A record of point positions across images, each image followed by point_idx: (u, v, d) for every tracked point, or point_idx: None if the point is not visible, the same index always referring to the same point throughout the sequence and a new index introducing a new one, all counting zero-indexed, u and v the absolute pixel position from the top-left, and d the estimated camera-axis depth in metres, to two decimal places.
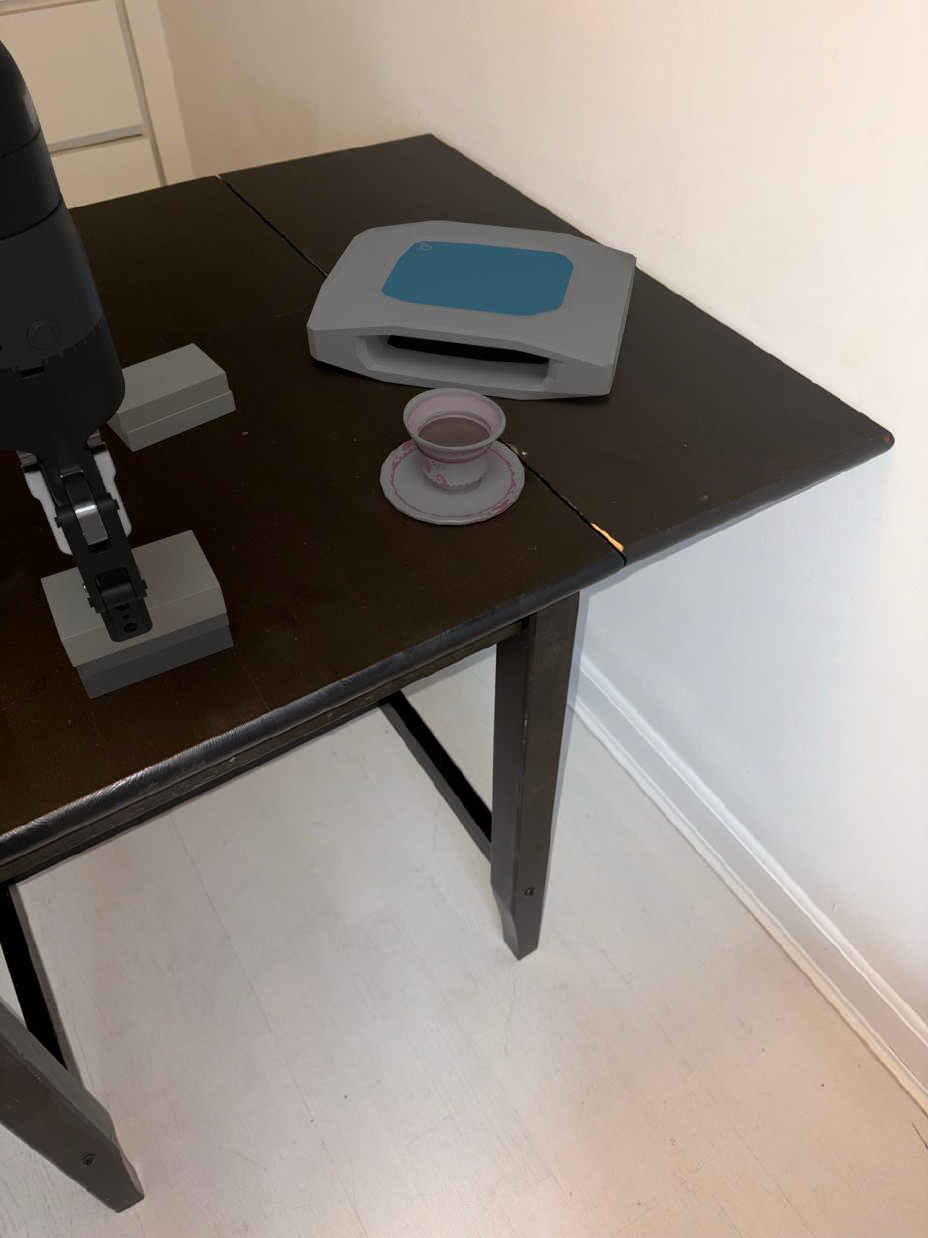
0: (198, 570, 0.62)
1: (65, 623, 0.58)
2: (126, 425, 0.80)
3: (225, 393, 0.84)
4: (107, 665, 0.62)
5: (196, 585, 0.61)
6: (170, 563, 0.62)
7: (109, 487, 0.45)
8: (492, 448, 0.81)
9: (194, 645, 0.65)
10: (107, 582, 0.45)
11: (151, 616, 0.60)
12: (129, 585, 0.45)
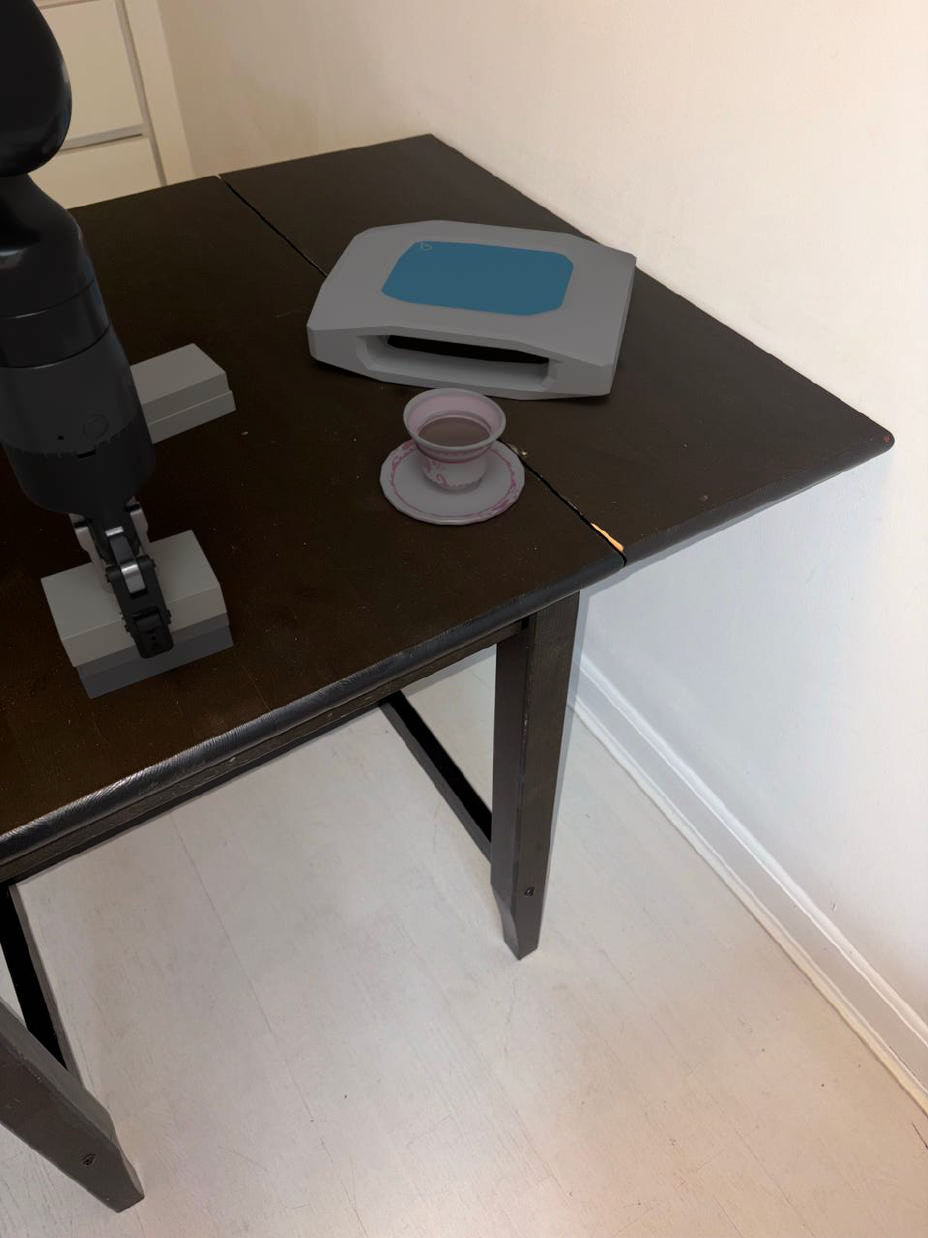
0: (198, 570, 0.62)
1: (65, 623, 0.58)
2: None
3: (225, 393, 0.84)
4: (107, 665, 0.62)
5: (196, 585, 0.61)
6: (170, 563, 0.62)
7: (142, 540, 0.56)
8: (492, 448, 0.81)
9: (194, 645, 0.65)
10: (139, 612, 0.56)
11: None
12: (158, 616, 0.56)
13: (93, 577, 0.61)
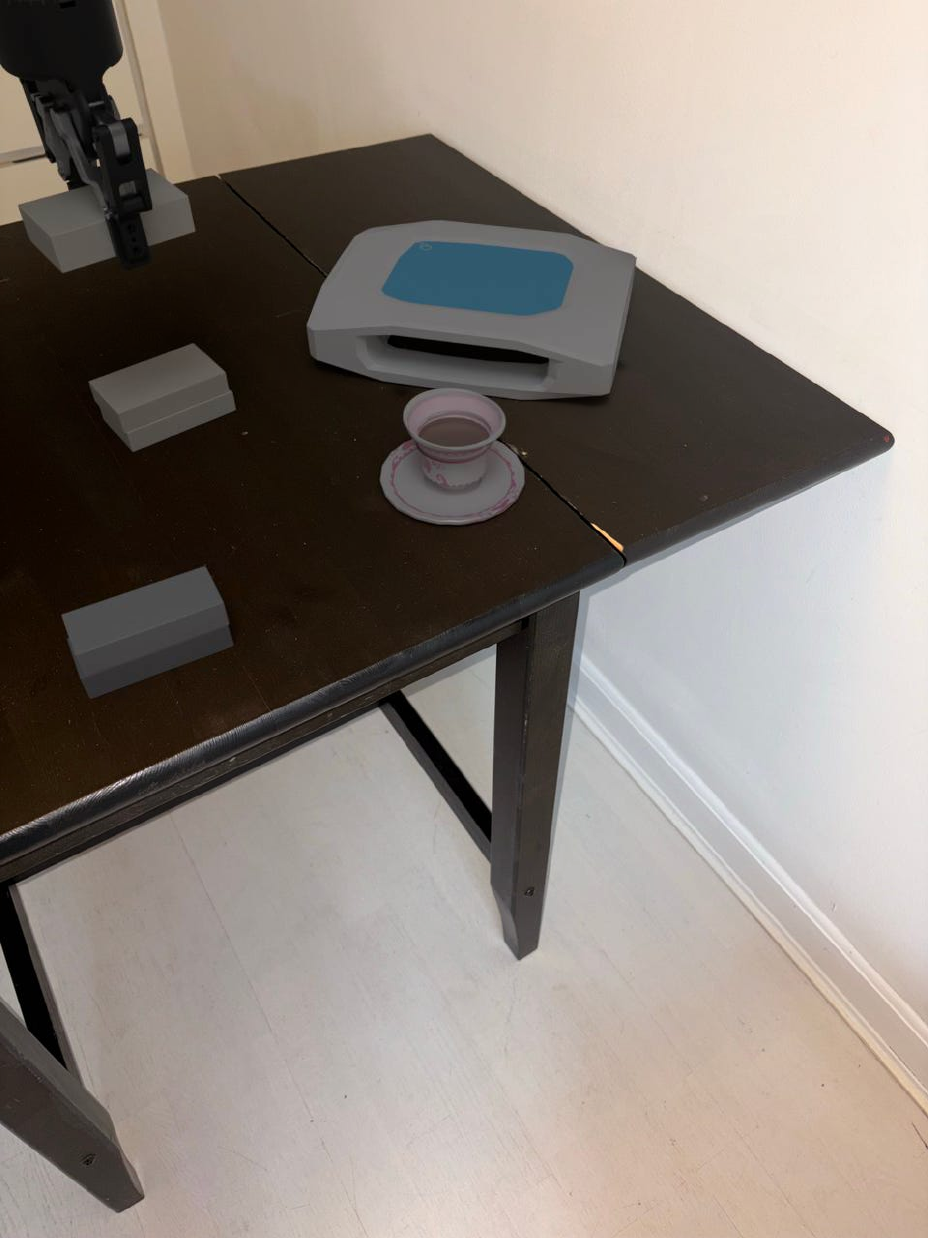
0: (165, 189, 0.67)
1: (50, 226, 0.64)
2: (126, 425, 0.80)
3: (225, 393, 0.84)
4: (107, 665, 0.62)
5: (166, 197, 0.67)
6: None
7: None
8: (492, 448, 0.81)
9: (194, 645, 0.65)
10: (122, 196, 0.62)
11: None
12: (140, 198, 0.62)
13: (68, 200, 0.66)
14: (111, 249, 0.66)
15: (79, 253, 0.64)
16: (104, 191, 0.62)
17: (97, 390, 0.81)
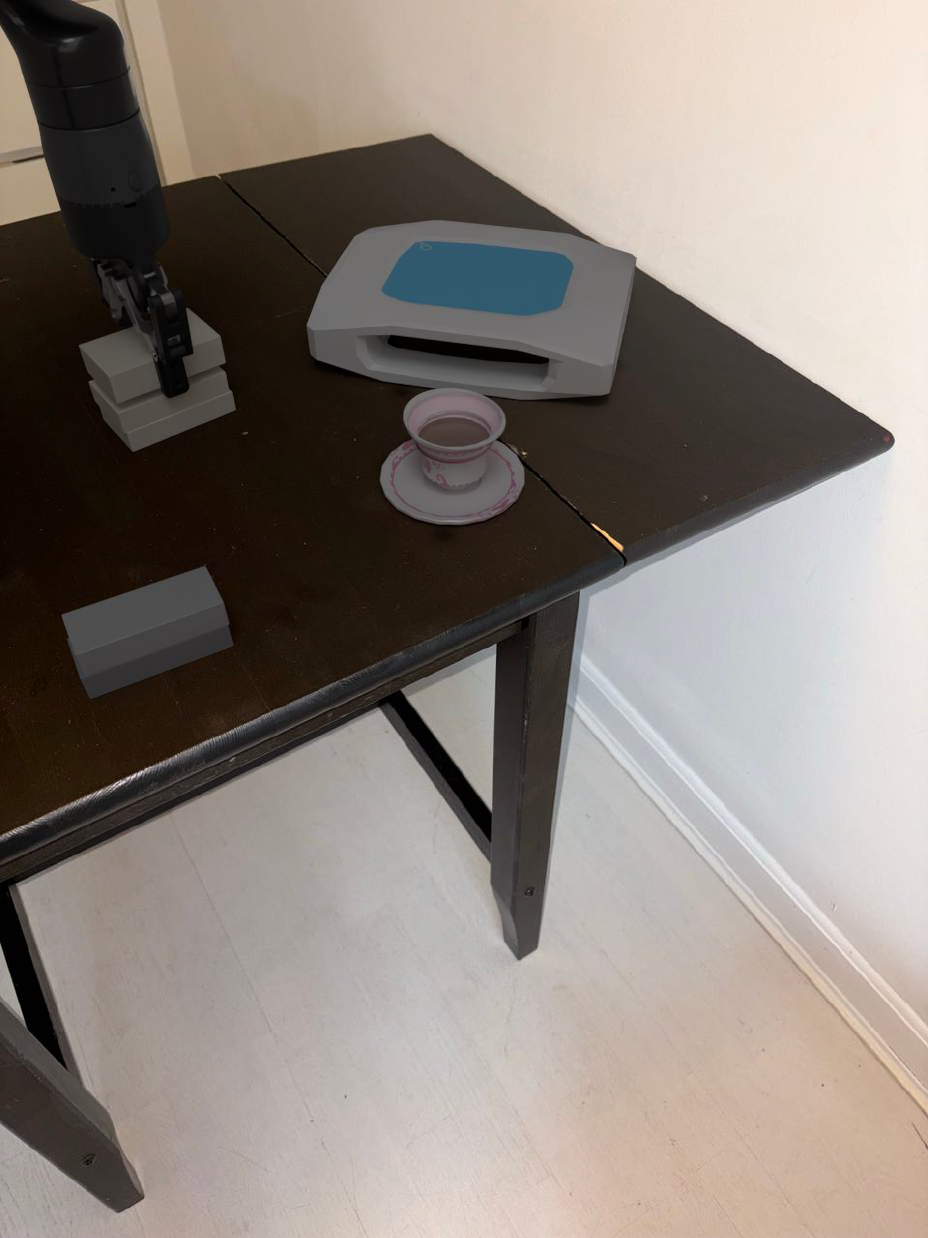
0: (201, 329, 0.81)
1: (108, 367, 0.77)
2: (126, 425, 0.80)
3: (225, 393, 0.84)
4: (107, 665, 0.62)
5: (202, 337, 0.80)
6: None
7: None
8: (492, 448, 0.81)
9: (194, 645, 0.65)
10: (169, 345, 0.75)
11: None
12: (184, 346, 0.75)
13: (120, 340, 0.80)
14: (157, 382, 0.79)
15: (131, 387, 0.78)
16: (154, 340, 0.75)
17: (97, 390, 0.81)
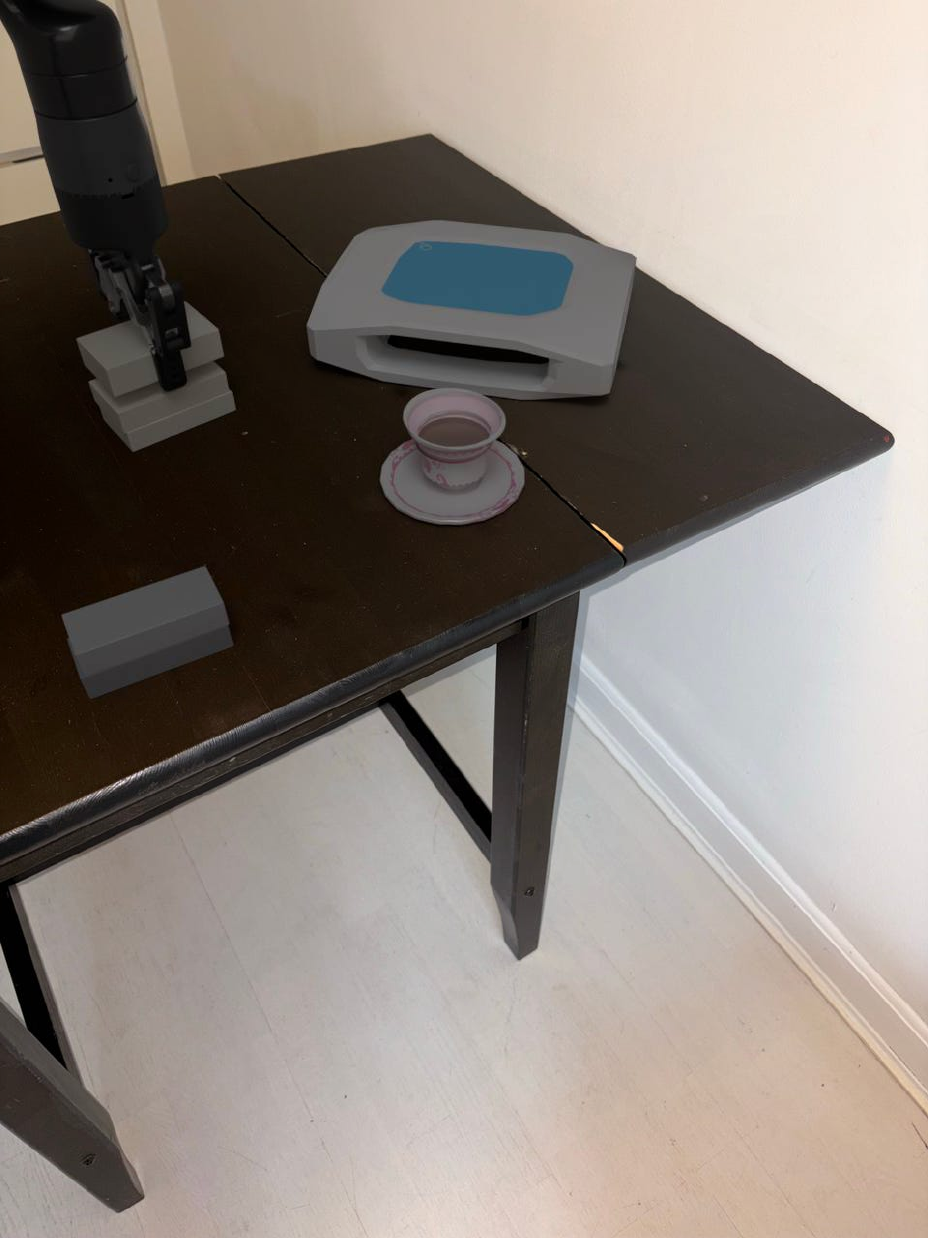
0: (199, 323, 0.80)
1: (105, 360, 0.76)
2: (126, 425, 0.80)
3: (225, 393, 0.84)
4: (107, 665, 0.62)
5: (200, 331, 0.79)
6: None
7: None
8: (492, 448, 0.81)
9: (194, 645, 0.65)
10: (166, 337, 0.75)
11: None
12: (181, 339, 0.75)
13: (118, 333, 0.79)
14: (155, 375, 0.78)
15: (129, 381, 0.77)
16: (151, 333, 0.75)
17: (97, 390, 0.81)
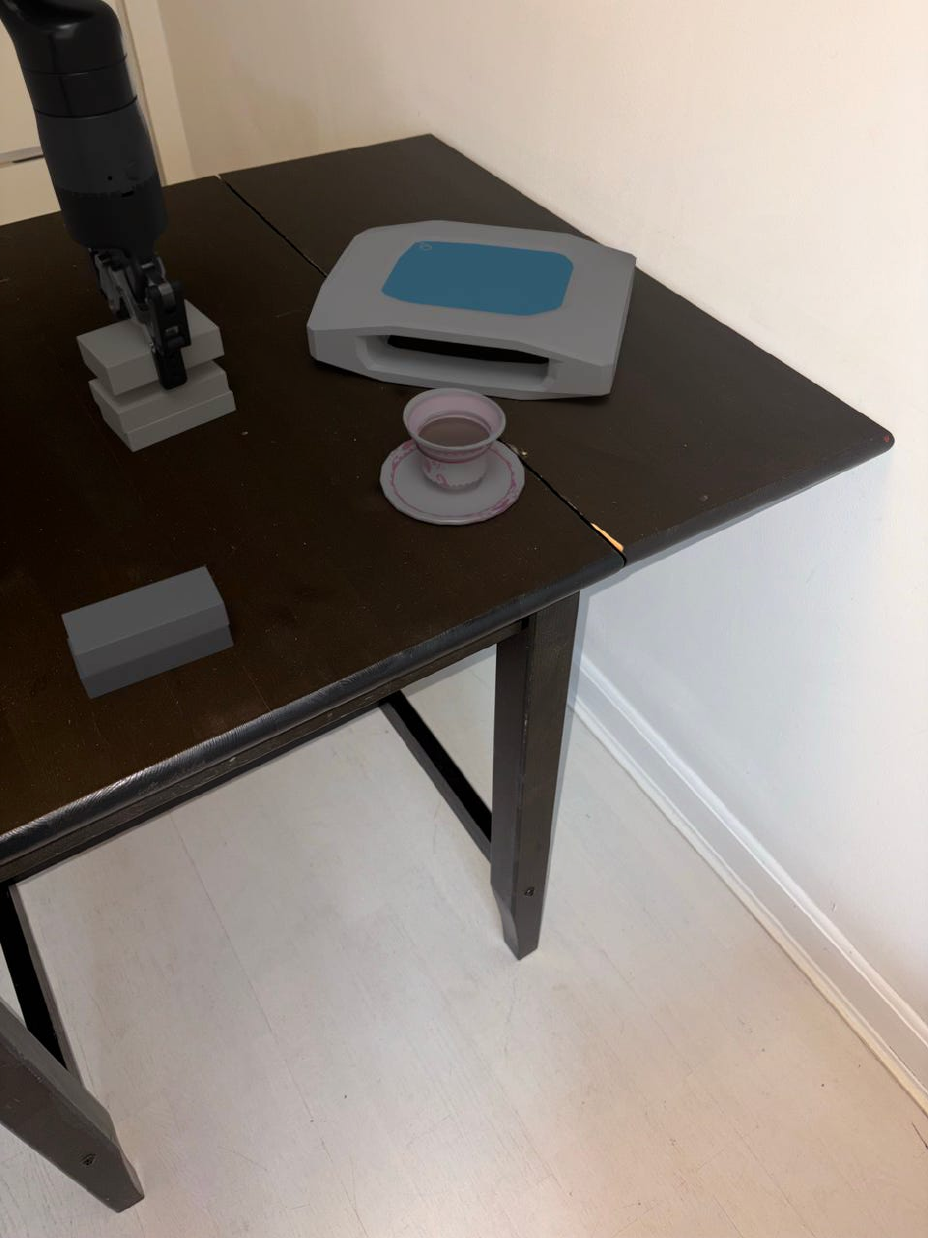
0: (199, 321, 0.80)
1: (105, 358, 0.76)
2: (126, 425, 0.80)
3: (225, 393, 0.84)
4: (107, 665, 0.62)
5: (200, 329, 0.79)
6: None
7: None
8: (492, 448, 0.81)
9: (194, 645, 0.65)
10: (167, 336, 0.75)
11: None
12: (181, 337, 0.75)
13: (118, 332, 0.79)
14: (155, 374, 0.78)
15: (129, 379, 0.77)
16: (151, 331, 0.75)
17: (97, 390, 0.81)
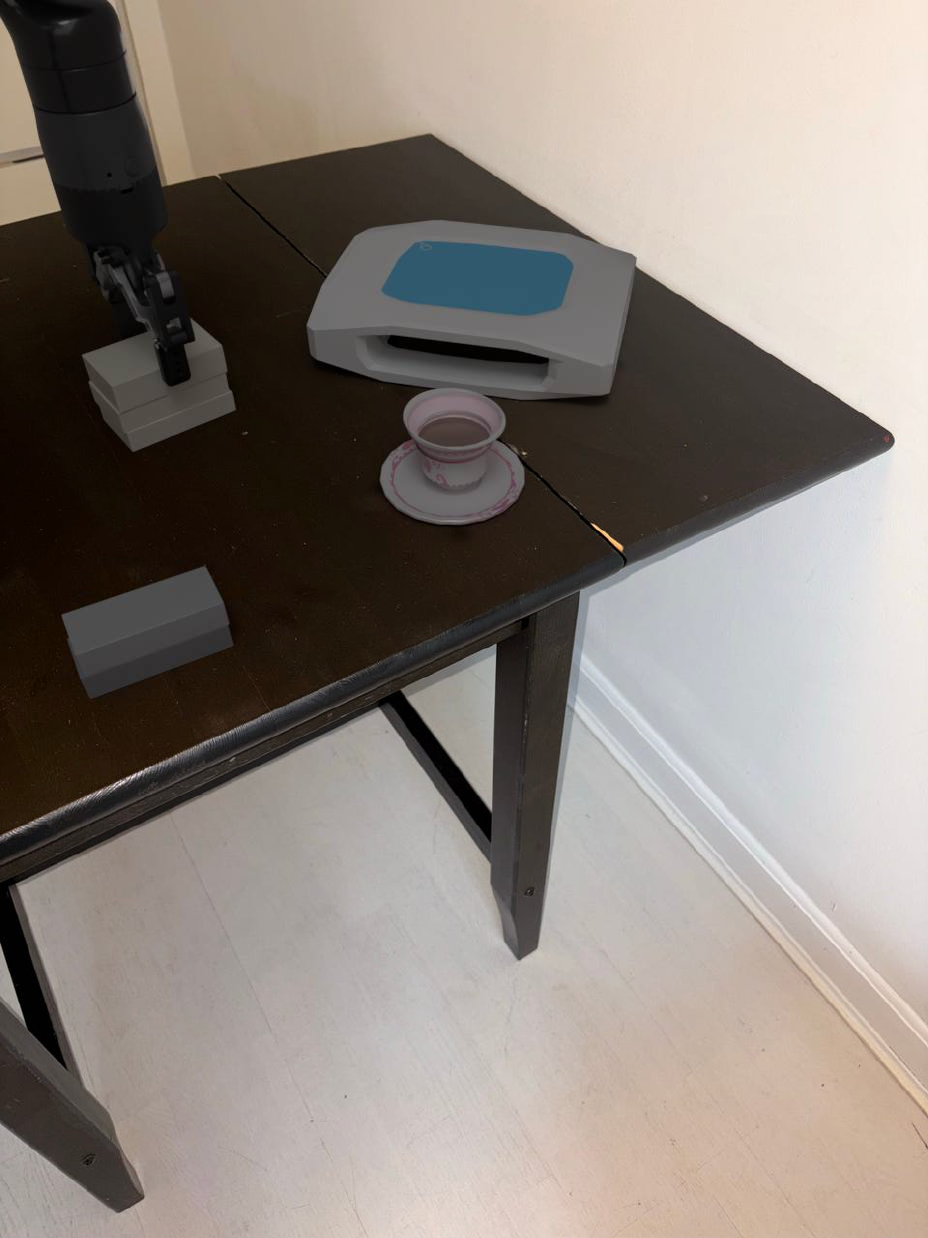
0: (203, 339, 0.81)
1: (111, 377, 0.77)
2: (126, 425, 0.80)
3: (225, 393, 0.84)
4: (107, 665, 0.62)
5: (204, 347, 0.80)
6: None
7: None
8: (492, 448, 0.81)
9: (194, 645, 0.65)
10: (170, 331, 0.74)
11: None
12: (184, 332, 0.74)
13: (123, 350, 0.80)
14: (159, 391, 0.80)
15: (134, 397, 0.78)
16: (153, 325, 0.74)
17: (97, 390, 0.81)
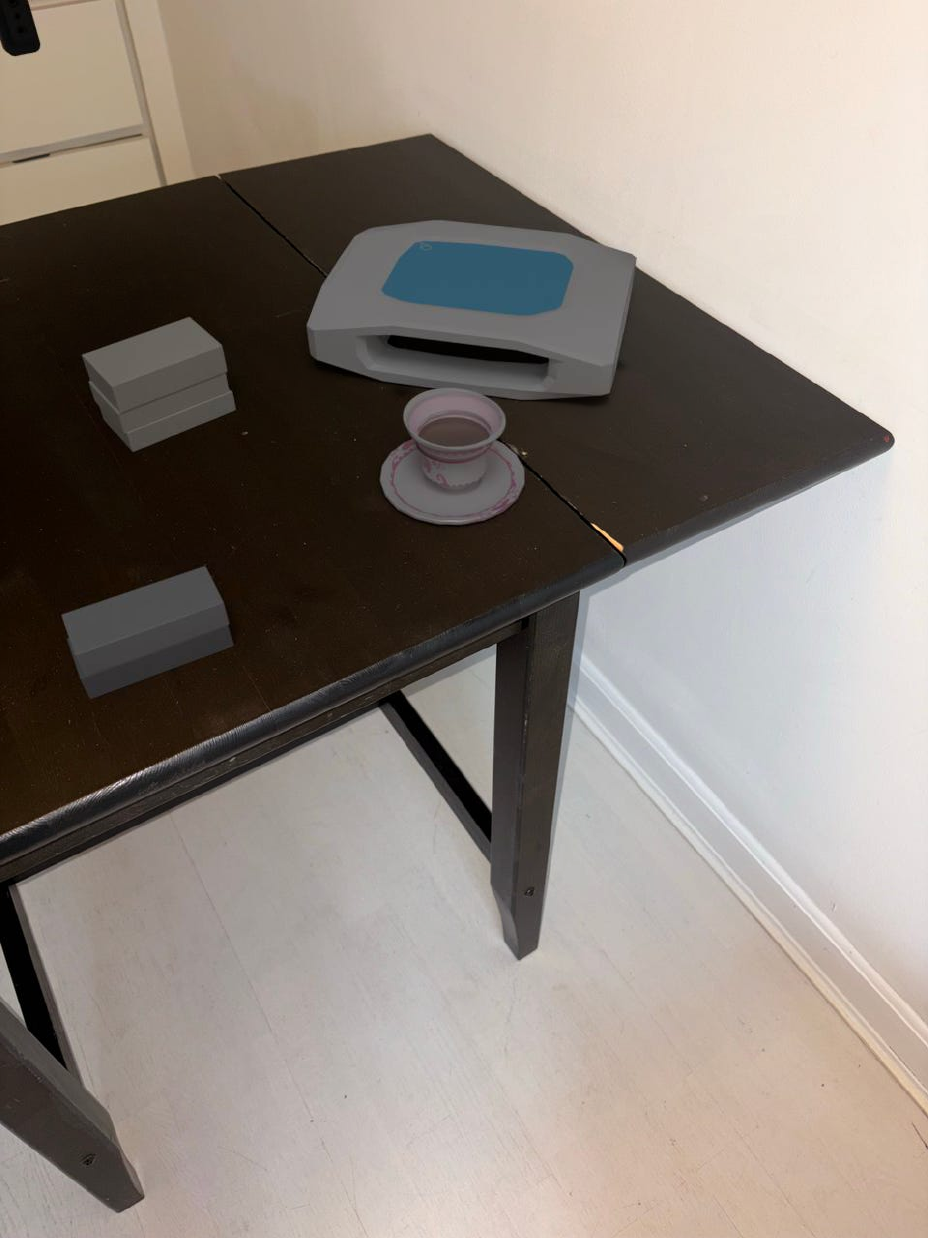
0: (203, 339, 0.81)
1: (111, 377, 0.77)
2: (126, 425, 0.80)
3: (225, 393, 0.84)
4: (107, 665, 0.62)
5: (204, 347, 0.80)
6: (180, 337, 0.82)
7: None
8: (492, 448, 0.81)
9: (194, 645, 0.65)
10: None
11: (174, 370, 0.79)
12: None
13: (123, 350, 0.80)
14: (159, 391, 0.80)
15: (134, 397, 0.78)
16: None
17: (97, 390, 0.81)
